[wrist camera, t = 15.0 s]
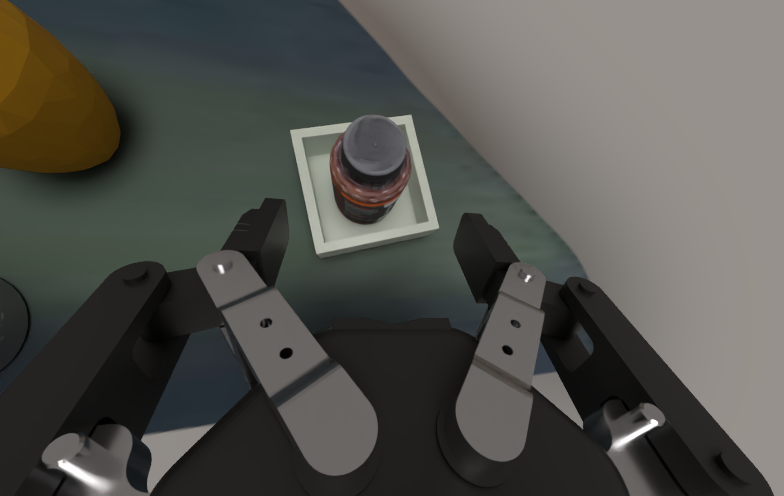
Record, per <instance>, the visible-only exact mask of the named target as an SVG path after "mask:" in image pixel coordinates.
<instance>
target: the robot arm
mask: <svg viewBox="0 0 784 496" xmlns="http://www.w3.org/2000/svg"><path fill="white" fill-rule="evenodd" d="M288 239H289V228H288V218H287V209H286V202H285V200H284V199H272V198H265V199H264V201H263V203H262V205H261V207H260V209H251V210H249V211H248V212H246V213H245V214H243V215H242V216H241V218H240V220H239V221H238V224H237V225H236V226H235V228H234V231H232V233H231V234H230V236H229V238H228V239H227V241H226V243H225V244H224V246H223V247H222V249H221V251H217V252H214V253H211V254H209V255H207V256H205V257H204V258H202V259H201V260H200V261H199V262H198V264H197V267H196V268H191V269H186V270H180V271H174V272H168V273H167V272H166V270H165V268H164V266H163V265H162V264H160V263H157V262H151V261H144V262H137V263H133V264H129V265H126V266H124V267H122V268H120V269H118V270H116V271H114V272H113V273H112V274H110V275H109V276H108V277H107V278H106V279H105V280H104V282H103V283H102V284H101V285H100V286H99V287H98V288H97V289H96V290H95V292H94V293H93V294H92V295H91V296H90V297H89V298H88V299H87V300H86V302H85V303H84V304H83V305H82V306H81V307H80V308H79V309H78V310H77V312H76V313H75V314H74V315H73V316H72V317H71V318H70V319H69V320H68V322H67V323H66V324H65V325H64V326H63V327H62V328H61V329H60V330H59V332H58V333H57V334H56V335H55V336H54V337H53V338H52V339H51V340H50V342H49V343H48V344H47V345H46V346H45V347H44V348H43V349H42V350H41V352H40V353H39V354H38V355H37V356H36V357H35V358H34V359H33V360H32V362H31V363H30V364H29V365H28V366H27V367H26V368H25V369H24V370H23V372H22V373H21V374H20V375H19V376H18V377H17V378H16V379H15V380H14V382H13V383H12V384H11V385H10V386H9V387H8V388H7V389H6V390H5V392H4V393H3V394H2V395H1V396H0V496H774V495H773V492H772V490H771V488H770V486H769V484H768V483H767V481H766V480H765V478H764V477H763V475H762V474H761V473H760V472H759V470H758V469H757V468H756V467H755V466H754V465H753V463H752V462H751V461H750V460H749V459H748V458H747V457H746V455H745V454H744V453H743V452H742V451H741V450H740V448H739V447H738V446H737V445H736V444H735V443H734V442H733V440H732V439H731V438H730V437H729V436H728V435H727V434H726V432H725V431H724V430H723V429H722V428H721V427H720V425H719V424H718V423H717V422H716V421H715V420H714V419H713V417H712V416H711V415H710V414H709V413H708V412H707V411H706V409H705V408H704V407H703V406H702V405H701V404H700V402H699V401H698V400H697V399H696V398H695V397H694V395H693V394H692V393H691V392H690V391H689V390H688V388H687V387H686V386H685V385H684V384H683V383H682V382H681V380H680V379H679V378H678V377H677V376H676V375H675V374H674V372H672V370H671V369H670V368H669V367H668V365H667V364H666V363H665V362H664V361H663V360H662V359H661V357H660V356H659V355H658V354H657V353H656V352H655V350H654V349H653V348H652V347H651V346H650V345H649V344H648V342H647V341H646V340H645V339H644V338H643V337H642V335H641V334H640V333H639V332H638V331H637V330H636V329H635V327H634V326H633V325H632V324H631V323H630V322H629V321H628V319H627V318H626V317H625V316H624V315H623V314H622V312H621V311H620V310H619V309H618V308H617V307H616V306H615V304H614V303H613V302H612V301H611V300H610V299H609V297H608V296H607V295H606V294H605V293H604V292H603V291H602V290H601V289H600V288H599V287H598V286H597V285H595V284H594V283H592V282H590V281H589V280H586V279H584V278H580V277H570V278H568V279H567V281H566V282H565V284H564V285H561V284H557V283H553V282H549V281H546V279H545V277H544V275H543V274H542V273H541V272H540V271H539V270H538V269H536V268H535V267H533V266H531V265H529V264H526V263H521V262H520V261H519V259H518V258H517V256H516V255H515V254H514V252H513V251H512V249H511V248H510V246H508V244H507V242H506V241H505V240H504V238H503V236H502V235H501V234H500V232H499V231H498V230H497V229H495V228H494V227H493V226H491V225H489V224H488V223H487V221H486V220H485V219H484V217H483V216H482V214H476V213H464V214H463V216H462V218H461V221H460V224H459V227H458V230H457V233H456V236H455V239H454V245H453V248H454V253H455V255H456V257H457V260H458V262H459V264H460V266H461V269H462V271H463V273H464V276H465V278H466V280H467V282H468V285H469V287H470V289H471V292H472V294H473V296H474V299H475V301H476V303H487V304H488V308H487V310H486V312H485V314H484V317H483V319H482V321H481V324H480V326H479V328H478V330H477V333H476V335H475V337H473V336H471V335H469V334H468V333H465V332H463V331H461V330H458V329H455V328H451V325H450V322H449V318H420V319H416V320H411V321H407V322H403V323H398V324H389V323H384V322H380V321H375V320H371V319H366V318H333V326H332V327H329V328H325V329H323V330H320V331H318V332H315V333H313V334H311V333H310V332H309V330H308V329H307V328H306V327H305V325H304V324H303V323H302V321H301V320H300V319H299V317H298V316H297V315H296V314H295V312H294V311H293V310H292V308H291V307H290V306H289V304H288V303H287V302H286V300H285V299H284V298H283V297H282V295H281V294H280V293H279V291H278V290H277V289H276V288H275V287H274V285H275V282H276V279H277V276H278V273H279V269H280V266H281V263H282V260H283V257H284V254H285V251H286V248H287V244H288ZM217 326H219V328H220V330H221V332H222V334H223V336H224V338H225V339H226V341H227V343H228V345H229V347H230V349H231V351H232V353H233V355H234V357H235V359H236V361H237V363H238V365H239V367H240V369H241V371H242V373H243V376H244V378H245V380H246V382H247V384H248V386H249V388H250V391H249V392H248V393H247V394H246V395H245V396H244V397H243V398H242V399H241V400H240V401H239V402H238V403H237V404H236V405H235V406H234V407H233V408H231V409H230V410H229V411H228V412H227V413H226V414H225V415H224V416H223V417H222V418H221V419H220V420H219V421H218V422H217V423H216V424H215V425H214V426H213V427H212V428H211V429H210V430H209V431H208V432H207V433H206V434H205V435H204V436H203V437H202V438H201V439H200V440H199V441H197V442H196V443H195V444H194V445H193V446H192V447H191V448H190V449H189V450H188V451H187V452H186V453H185V454H184V455H183V456H182V457H181V458H180V459H179V460H178V461H177V462H176V463H175V464H174V465H173V466H172V467H171V468H170V469H169V470H168V471H167V472H166V473H165V475H164V476H163V477H162V478H161V480H160V481H159V482H158V483H157V485H156V486H155V488H154V489H153V491H152V492H151V493H148V490H147V478H148V474H149V470H150V467H151V460H152V458H151V452H150V450H149V448H148V447H147V446H146V445H145V444H144V443H143V442H141V439H142V437H143V434H144V432H145V430H146V428H147V426H148V424H149V422H150V419H151V417H152V415H153V413H154V411H155V409H156V407H157V404H158V402H159V400H160V398H161V396H162V394H163V392H164V389H165V387H166V385H167V383H168V381H169V379H170V377H171V374H172V372H173V370H174V368H175V366H176V364H177V362H178V359H179V357H180V355H181V353H182V351H183V349H184V347H185V344H186V342H187V340H188V338H189V336H190V334H191V333H193V332H197V331H201V330H205V329H209V328H213V327H217ZM582 327H583V328H584V330H585V331H586V332H587V334H588V335H589V337H590V338H591V340H592V342H593V345H594V351H593V353H592V355H591V356H590V354H589V353H588V351H587V350H586V348H585V347H584V345H583V344H582V342H581V341H580V339H579V337H578V336H577V333H578V331H579V330H580V329H581V328H582ZM27 329H28V313H27V309H26V305H25V303H24V301H23V299H22V298H21V296H20V294H19V293H18V292H17V291H16V290H15V289H14V288H13V287H12V286H11V285H10V284H8V283H7V282H5V281H4V280H2V279H0V371H1V370H2V369H3V368H4V367H5V366H6V365H7V364H9V363H10V362H11V360H12V359H13V358H14V357H15V355H16V354H17V353H18V351H19V350H20V348H21V346H22V344H23V342H24V340H25V336H26V332H27ZM540 341H541V343H542V345H543V346H544V348H545V350H546V352H547V354H548V356H549V358H550V360H551V362H552V364H553V365H554V367H555V369H556V371H557V373H558V375H559V377H560V379H561V381H562V382H563V384H564V386H565V388H566V390H567V392H568V394H569V396H570V398H571V400H572V402H573V403H574V405H575V407H576V409H577V411H578V413H579V415H580V417H581V419H582V421H583V429H582V428H581V427H580V426H578V425H577V424H576V423H575V422H574V421H572V420H571V419H570V418H569V417H568V416H567V415H565V414H564V413H563V412H562V411H561V410H560V409H558V408H557V407H556V406H555V405H554V404H553V403H551V402H550V401H549V400H548V399H547V398H546V397H544V396H543V395H542V394H541V393H540V392H539V391H537V390H536V389H535V388H534V387H533V386H532V385H531V383H532V378H533V373H534V368H535V362H536V357H537V352H538V347H539V342H540Z"/></svg>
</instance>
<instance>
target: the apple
mask: <svg viewBox="0 0 784 496" xmlns="http://www.w3.org/2000/svg"><path fill="white" fill-rule="evenodd" d="M120 134H121V132H120V128H119V124H118V120H117V116H116V112H115V109H114V107H113V105H112V103H111V102H110V100H109V98H108V97H107V95H106V93H105V92H104V90H103V89H102V87H101V86H100V85H99V84H98V82H97V81H96V80H95V79H94V78H93V76H92V75H91V74H90V73H89V71H88V70H87V69H86V68H85V67H84V66H83V65H82V64H81V63H80V62H79V61H78V60H77V59H76V58H75V57H74V56H73V55H72V54H71V53H70V52H69V51H68V50H67V49H66V48H65V47H64V46H63V45H62V44H61V43H60V42H59V41H58V40H57V39H56V38H55V37H54V36H53V35H52V34H51V33H50V32H48V31H47V30H46V29H44V28H43V27H42V26H41V25H39V24H38V23H37V22H35V21H34V20H33V19H31V18H30V17H29V16H28V15H26V14H25V13H24V12H22V11H21V10H20V9H18V8H17V7H16V6H14V5H13V4H12V3H10V2H9V1H8V0H0V168H8V169H16V170H23V171H31V172H38V173H68V172H74V171H80V170H85V169H88V168H91V167H94V166H96V165H99V164H101V163H103V162H106V161H108V160H109V159H110V158H111V156H112V155H113V154H114V152H115V151H116V150H117V148H118V146H119V140H120Z"/></svg>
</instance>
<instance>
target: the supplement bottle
mask: <svg viewBox="0 0 784 496" xmlns="http://www.w3.org/2000/svg"><path fill="white" fill-rule="evenodd" d="M329 163H330V173H331V180H332V186H333V192H334V198H335V202H336V204H337V206H338V208H339V210H340V212H341V213H342V214H343V215H344V216H345V217H346V218H347V219H349V220H350V221H352V222H355V223H358V224H364V225H367V224H373V223H376V222H379V221H380V220H382V219H383V218H384V217H386V216H387V215H388V213H389V212H390V211H391V209H392V208H393V206H394V205H395V203H396V201H397V200H398V198H399V197H400V195H401V193H402V192H403V190H404V188H405V187H406V185H407V183H408V181H409V178H410V175H411V168H412V162H411V157H410V153H409V150H408V148H407V145H406V139H405V137H404V134H403V132H402V130H401V129H400V128H399V127H398V125H396V124H395V122H393V121H392V120H390V119H388V118H386V117H384V116H380V115H366V116H362V117H359V118H358V119H356V120H354V121H353V122H352V123H351V124H350V125H349V126H348V128H347V129H346V131H344V132H343V133H342V134H341V135H340V136H339V137H338V139H337V140H336V141H335V143H334V145H333V147H332V150H331V154H330V161H329Z"/></svg>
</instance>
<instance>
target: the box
mask: <svg viewBox="0 0 784 496" xmlns="http://www.w3.org/2000/svg"><path fill="white" fill-rule="evenodd" d="M388 119H390V120H392V121H393V122H395V124H396V125H398V127H399V128H400V129H401V130H402V132H403V134H404V137H405V139H406V145H407V148H408V150H409V153H410V157H411V162H412V168H411V175H410V178H409V181H408V183H407V185H406V187H405V188H404V190H403V192H402V193H401V195H400V197H399V198H398V200H397V201H396V203H395V205H394V206H393V208H392V209H391V211H390V212H389V213H388V215H387V216H386V217H384V218H383V219H382V220H380V221H379V222H376V223H373V224H367V225H364V224H358V223H355V222H352V221H350V220H349V219H347V218H346V217H345V216H344V215H343V214H342V213H341V212H340V210H339V208H338V206H337V204H336V202H335V198H334V192H333V186H332V180H331V173H330V163H329V161H330V154H331V150H332V147H333V145H334V143H335V141H336V140H337V139H338V137H339V136H340V135H341V134H342V133H343V132H344V131H346V129H347V128H348V126H349V125H350V124H351V123H352V122H351V123H344V124H336V125H328V126H320V127H312V128H304V129H296V130H290V132H291V136H292V141H293V146H294V151H295V155H296V160H297V165H298V170H299V174H300V179H301V184H302V189H303V193H304V198H305V203H306V208H307V212H308V217H309V222H310V227H311V232H312V236H313V241H314V246H315V251H316V254H317V255H318V256H319V257H320V258H321V259H322V258H326V257H331V256H336V255H340V254H345V253H350V252H354V251H359V250H364V249H368V248H373V247H378V246H382V245H387V244H392V243H396V242H401V241H406V240H410V239H415V238H420V237H424V236H427V235H428V234H430V233H432V232H434V231H435V230H437V229H439V225H438V221H437V217H436V213H435V209H434V205H433V201H432V197H431V193H430V189H429V185H428V181H427V177H426V173H425V169H424V165H423V161H422V157H421V153H420V149H419V145H418V141H417V137H416V133H415V129H414V125H413V121H412V117H411V115H406V116H399V117H391V118H388Z"/></svg>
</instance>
